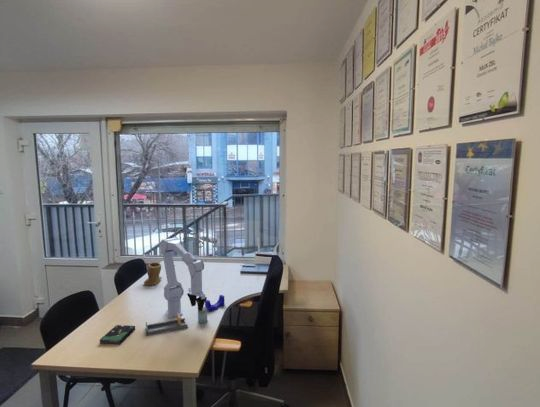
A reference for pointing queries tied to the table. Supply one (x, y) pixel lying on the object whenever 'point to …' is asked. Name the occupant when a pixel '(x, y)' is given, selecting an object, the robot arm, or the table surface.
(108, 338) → the disk drive
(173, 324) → the tray
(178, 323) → the bar
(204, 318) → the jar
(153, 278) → the brown boot
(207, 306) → the cable clip
